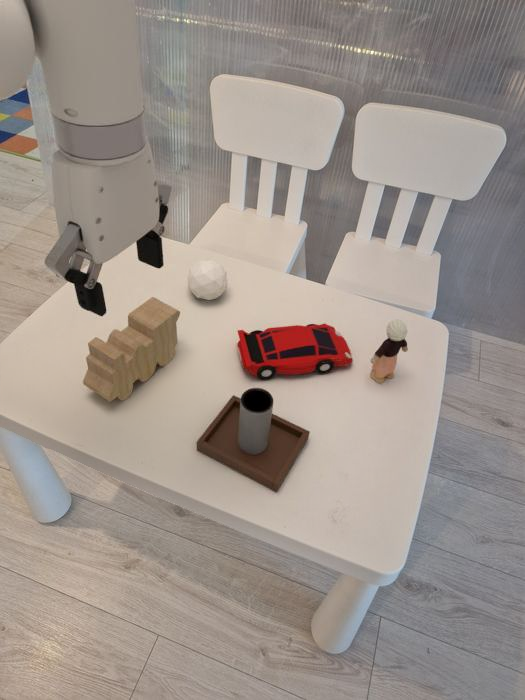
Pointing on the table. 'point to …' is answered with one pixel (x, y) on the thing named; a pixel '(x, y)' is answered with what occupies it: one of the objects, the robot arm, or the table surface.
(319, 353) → the toy car
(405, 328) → the grandmother figurine
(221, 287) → the geometric ball
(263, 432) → the grey hollow cylinder
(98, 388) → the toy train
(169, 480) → the table surface
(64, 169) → the robot arm
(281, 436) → the tray
